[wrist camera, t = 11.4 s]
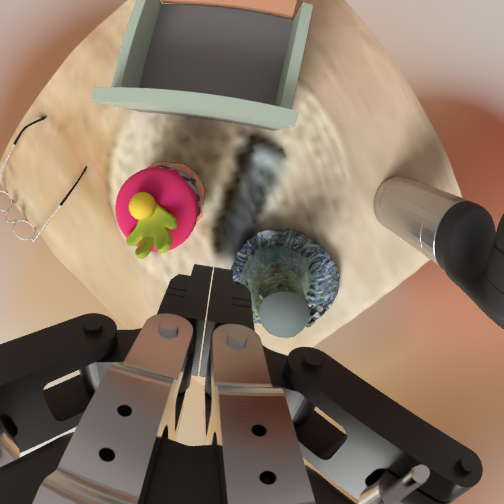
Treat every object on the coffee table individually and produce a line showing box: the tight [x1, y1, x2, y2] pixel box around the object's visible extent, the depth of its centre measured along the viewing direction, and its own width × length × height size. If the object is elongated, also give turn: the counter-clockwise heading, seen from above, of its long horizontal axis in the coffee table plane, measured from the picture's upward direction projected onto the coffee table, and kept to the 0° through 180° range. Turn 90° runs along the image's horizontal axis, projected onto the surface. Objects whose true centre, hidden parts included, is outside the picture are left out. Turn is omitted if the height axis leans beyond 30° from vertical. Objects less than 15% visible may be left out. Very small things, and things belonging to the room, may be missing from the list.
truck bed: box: [92, 0, 313, 131], centre depth 28 cm, size 16×20×16 cm
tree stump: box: [231, 229, 339, 338], centre depth 43 cm, size 18×20×18 cm
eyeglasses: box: [0, 116, 87, 242], centre depth 37 cm, size 16×19×5 cm
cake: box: [116, 162, 205, 259], centre depth 35 cm, size 10×11×15 cm
